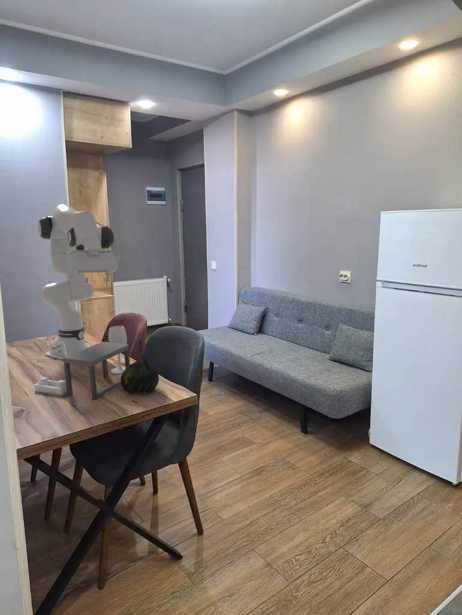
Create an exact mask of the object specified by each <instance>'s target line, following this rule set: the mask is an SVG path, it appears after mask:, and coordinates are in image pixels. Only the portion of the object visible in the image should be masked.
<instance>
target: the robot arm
mask: <svg viewBox="0 0 462 615" xmlns="http://www.w3.org/2000/svg"><path fill="white" fill-rule="evenodd" d="M37 232H38V234H39V236H40V237H41V238H42V239H45V240H49V242H50V244H49V248H50V257H51V263H52V269H53V271H54V272H55V273H56V274H57V275H60V276H63V277H64V278H65V279H66V281H59V282H53V283H48V284H46V285H44V286H42V288H41V291H40V292H41V293H40V296H41V299H42V301H43V302H44V303H45V304H47V305H49V306H50V307H51V308H53V310H55V312H56V313H57V316H58V319H59V326H60V329H58V330H57V331H56V334H57V335H58V336H57V337H56V338H54V340H52V341H51V342H50V344H49V350H48V351H46V352H45V356H47V357H51V358H54V359H55V358H56V359H58V360H63V358H64V357H67V356H69V355H72V354H74V353H76V352H79V351H81V350H84V349H86V348H88V346H87V342H86V338H85V328H84V322H83V315H82V312H81V311H80V310H77V309H75V308H73V307H70V303H78V302H84V301H88V300H90V299H92V298H93V296H94V293H95V288H94V285H93V284H92V282H91V281H90V280H89V278H88V277H86V276H85V275H84V274H87V273H91V274H93V273H95V274H97V273H104V274H105V275H106V276H105V278H103V280H104V283H110V282H111V280H110V277H111V274H112V273H115V272H116V271H117V270H118V269H119V265H118V262H117V260H116V256H115V253H114V252H113V251H111V250H110V249H109V248H111V247H112V246H113V244H114V242H115V236H114V232H113V230H112V229H111V228H110V227H109V226H108V225H107V224H106V225H103V224H101V223H99V222H98V221H96V219H95V217H94V214H93V212H91V211H87V210H84V211H83V210H82V211H81V210H80V211H76V209H74V208H73V207H71V206H70V205H66V204H58V205H56V207H55V208H54V209H53V211H52V216H49V215H46V216H45V217H41V218H40V219H39V220H38V223H37Z"/></svg>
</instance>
